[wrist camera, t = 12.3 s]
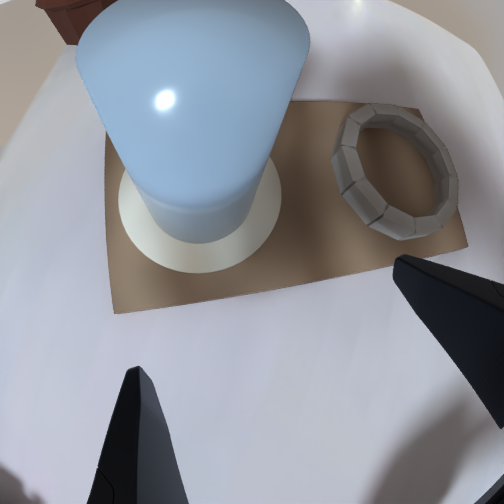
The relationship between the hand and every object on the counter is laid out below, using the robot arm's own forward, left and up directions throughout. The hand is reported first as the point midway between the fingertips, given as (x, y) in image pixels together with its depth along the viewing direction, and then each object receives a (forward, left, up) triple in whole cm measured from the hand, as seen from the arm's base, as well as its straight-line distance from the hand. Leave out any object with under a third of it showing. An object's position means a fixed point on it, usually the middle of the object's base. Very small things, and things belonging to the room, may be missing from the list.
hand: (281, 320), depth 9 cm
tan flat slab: (+2, -9, -9) cm, 13 cm away
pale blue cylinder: (+8, -5, -8) cm, 12 cm away
